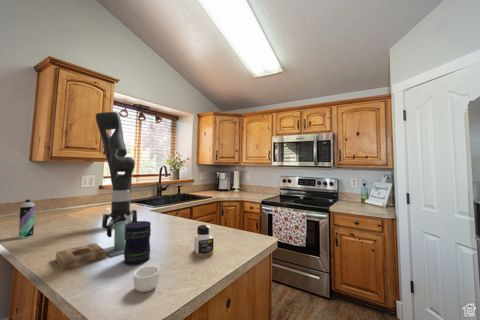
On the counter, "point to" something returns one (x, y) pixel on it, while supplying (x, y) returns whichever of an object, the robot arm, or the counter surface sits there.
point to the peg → (119, 236)
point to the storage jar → (137, 242)
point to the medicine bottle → (203, 240)
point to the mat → (113, 252)
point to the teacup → (146, 278)
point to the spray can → (26, 219)
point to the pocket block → (80, 256)
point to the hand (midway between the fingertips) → (119, 234)
